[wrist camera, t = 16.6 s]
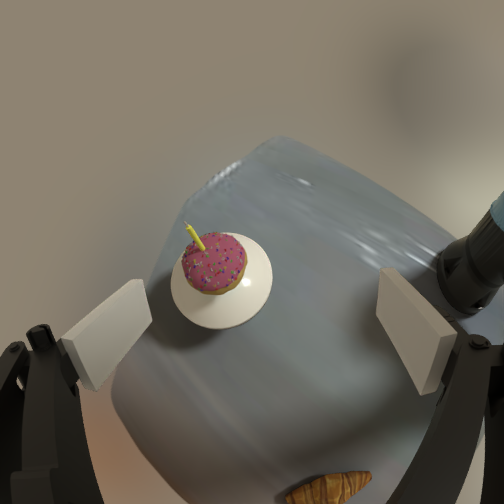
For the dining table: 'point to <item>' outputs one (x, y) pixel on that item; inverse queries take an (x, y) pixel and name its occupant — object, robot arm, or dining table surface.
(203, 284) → the cupcake
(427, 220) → the dining table surface
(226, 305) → the cake stand
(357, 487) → the croissant
